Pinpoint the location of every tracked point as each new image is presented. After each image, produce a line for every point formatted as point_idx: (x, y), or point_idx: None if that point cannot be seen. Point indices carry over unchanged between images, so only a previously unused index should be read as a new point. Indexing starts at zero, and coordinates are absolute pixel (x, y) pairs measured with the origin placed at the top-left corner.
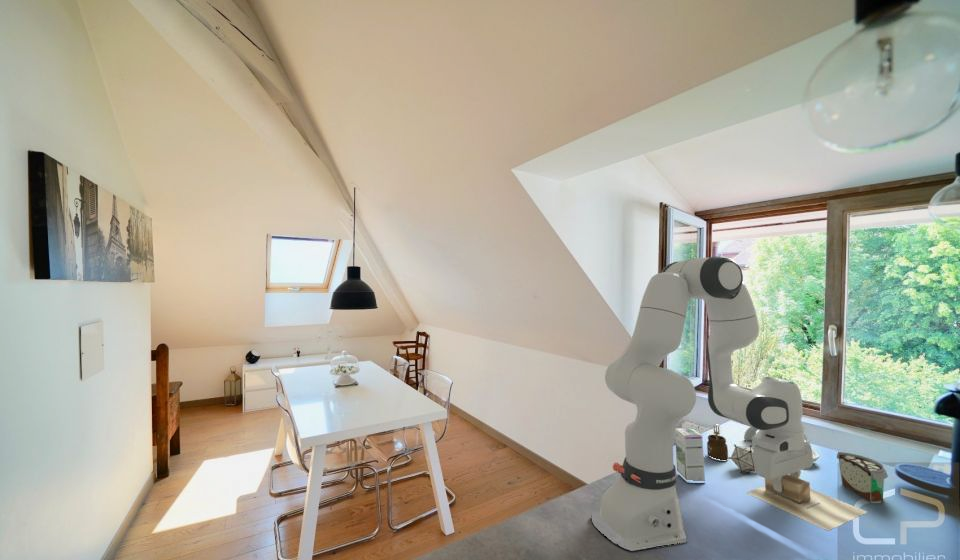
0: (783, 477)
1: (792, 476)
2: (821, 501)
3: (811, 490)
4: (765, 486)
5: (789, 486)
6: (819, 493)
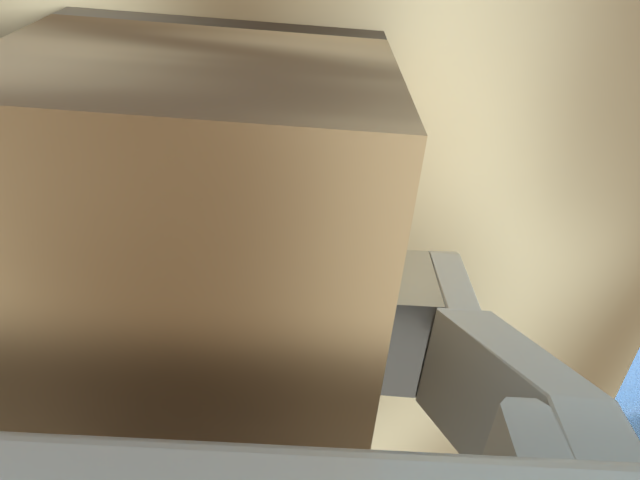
0: (124, 395)
1: (350, 438)
2: (403, 433)
3: (619, 315)
4: (46, 19)
5: None
6: (602, 372)
